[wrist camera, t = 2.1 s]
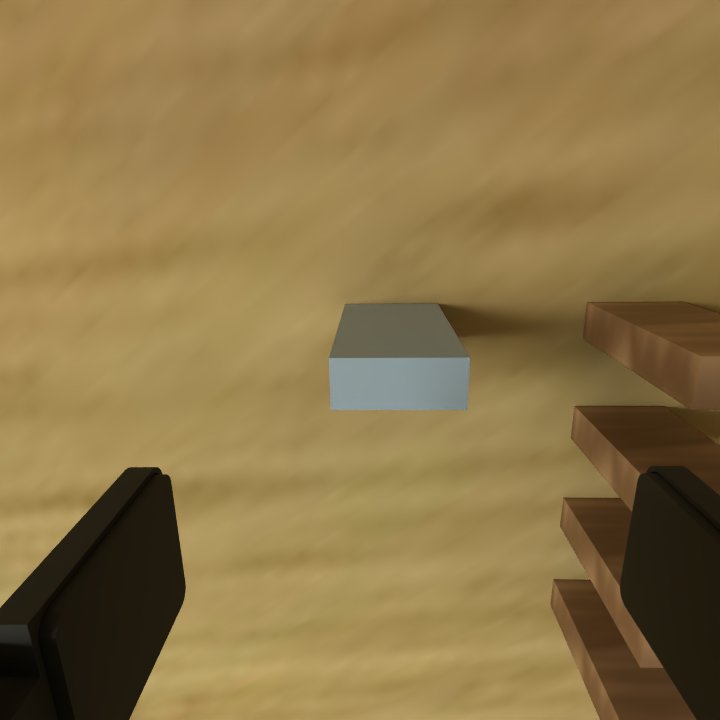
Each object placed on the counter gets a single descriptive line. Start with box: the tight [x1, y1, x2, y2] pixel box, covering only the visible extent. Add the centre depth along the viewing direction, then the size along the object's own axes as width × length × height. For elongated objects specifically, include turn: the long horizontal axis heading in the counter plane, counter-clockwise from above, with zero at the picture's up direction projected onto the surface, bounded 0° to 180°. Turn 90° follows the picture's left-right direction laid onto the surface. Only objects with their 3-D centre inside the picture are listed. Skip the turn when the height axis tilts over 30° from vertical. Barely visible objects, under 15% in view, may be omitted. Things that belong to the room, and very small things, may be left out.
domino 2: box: [583, 302, 720, 410], centre depth 23 cm, size 2×5×10 cm, turn 91°
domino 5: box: [551, 580, 696, 720], centre depth 28 cm, size 2×5×10 cm, turn 91°
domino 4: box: [560, 498, 664, 668], centre depth 26 cm, size 2×5×10 cm, turn 91°
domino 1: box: [329, 303, 470, 410], centre depth 23 cm, size 2×5×10 cm, turn 91°
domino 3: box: [571, 406, 720, 511], centre depth 24 cm, size 2×5×10 cm, turn 91°
